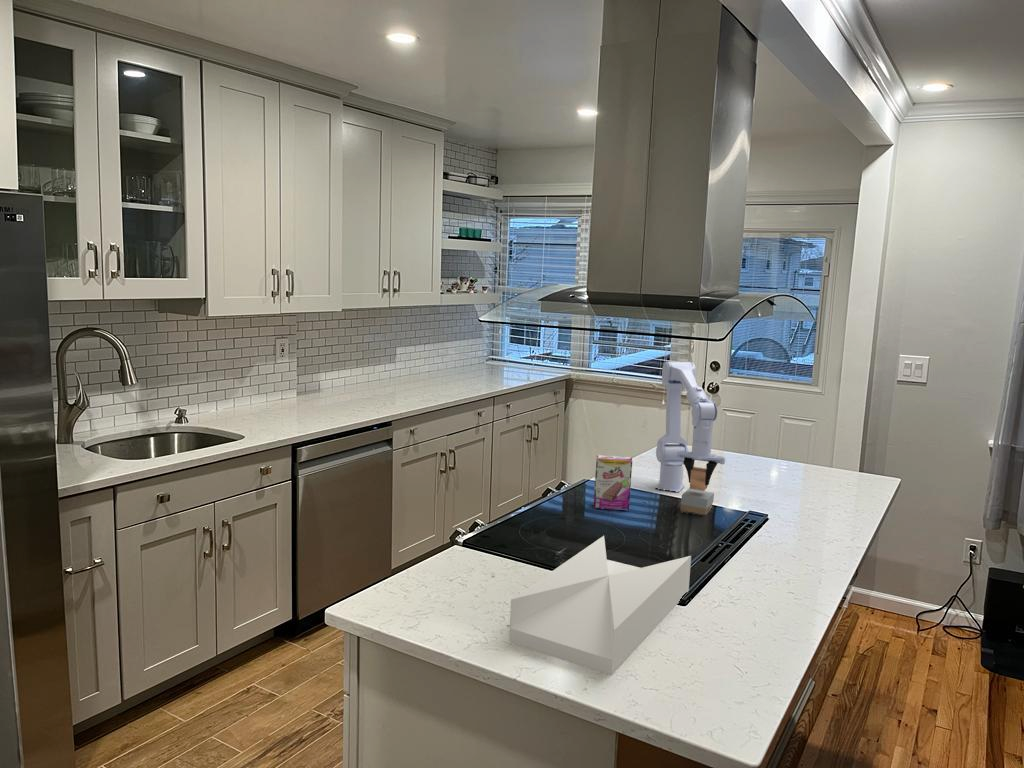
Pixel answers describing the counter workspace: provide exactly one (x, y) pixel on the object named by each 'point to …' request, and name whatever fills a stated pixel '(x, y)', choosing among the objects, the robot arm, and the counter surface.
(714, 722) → the counter surface
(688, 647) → the counter surface
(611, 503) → the candy bar box
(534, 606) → the white zigzag wedge
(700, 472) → the terracotta block
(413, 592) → the counter surface
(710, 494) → the slate slab
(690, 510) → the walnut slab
